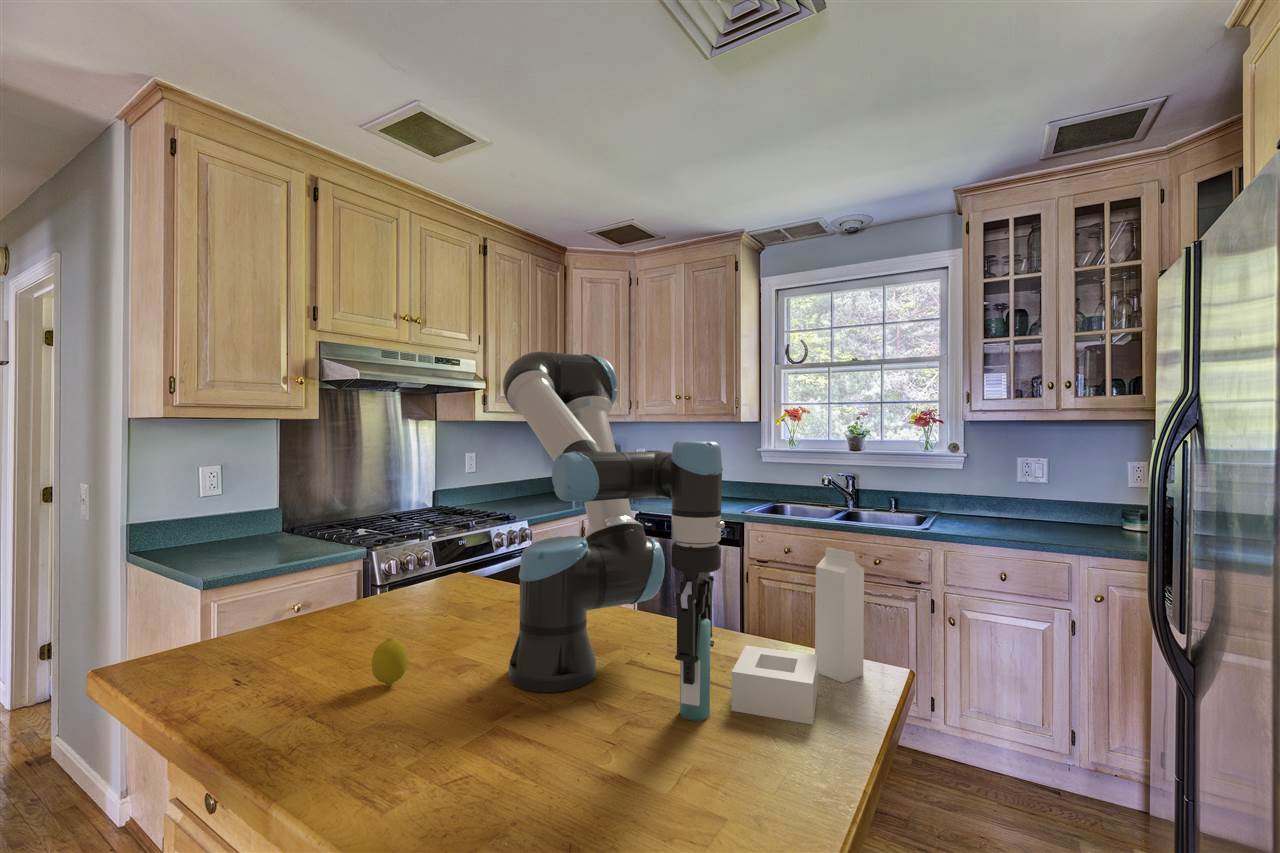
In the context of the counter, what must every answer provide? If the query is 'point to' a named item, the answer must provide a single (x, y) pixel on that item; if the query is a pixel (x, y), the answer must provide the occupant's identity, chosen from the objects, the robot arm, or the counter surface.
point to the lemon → (389, 661)
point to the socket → (775, 684)
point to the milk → (839, 616)
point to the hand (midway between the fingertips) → (694, 695)
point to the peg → (704, 656)
